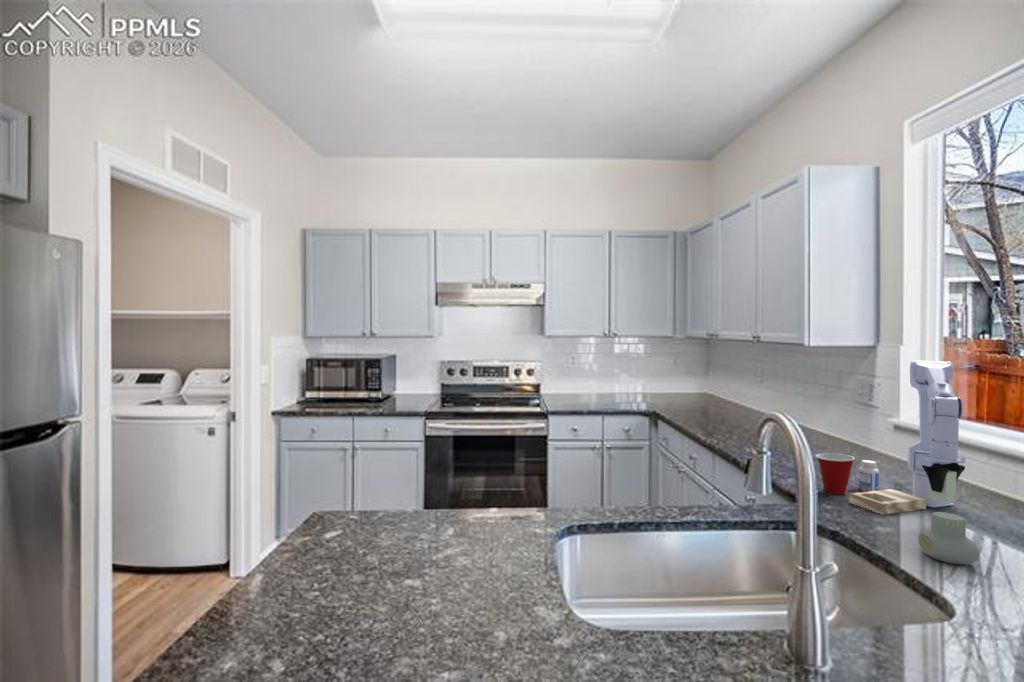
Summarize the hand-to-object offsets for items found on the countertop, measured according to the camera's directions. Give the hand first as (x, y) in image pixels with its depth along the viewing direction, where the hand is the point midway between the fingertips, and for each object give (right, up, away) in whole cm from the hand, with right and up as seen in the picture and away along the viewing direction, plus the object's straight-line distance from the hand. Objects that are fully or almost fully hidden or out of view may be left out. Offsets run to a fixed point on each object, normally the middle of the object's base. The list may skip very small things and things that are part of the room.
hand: (942, 490), depth 135 cm
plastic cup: (-11, -9, +28) cm, 32 cm away
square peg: (0, -2, 0) cm, 2 cm away
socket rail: (-4, -9, +15) cm, 18 cm away
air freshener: (-17, -10, -21) cm, 29 cm away
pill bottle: (+2, -9, +30) cm, 32 cm away
